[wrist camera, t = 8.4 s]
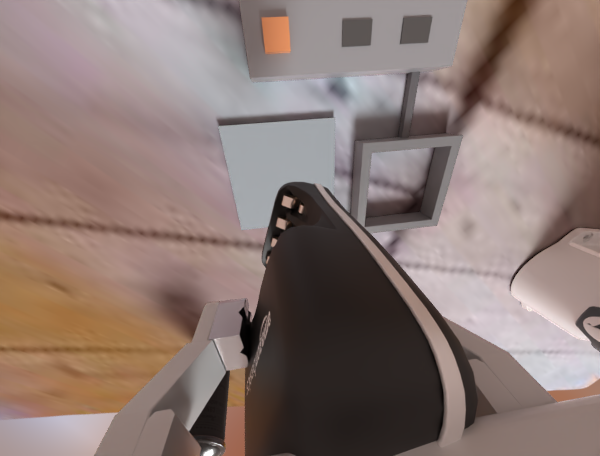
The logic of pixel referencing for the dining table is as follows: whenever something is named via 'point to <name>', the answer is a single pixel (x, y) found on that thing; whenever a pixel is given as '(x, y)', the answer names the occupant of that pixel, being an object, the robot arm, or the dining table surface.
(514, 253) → the dining table surface
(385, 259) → the battery charger
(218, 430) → the drinking cup
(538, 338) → the dining table surface
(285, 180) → the slate mat
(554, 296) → the robot arm
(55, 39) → the dining table surface
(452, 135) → the charging station
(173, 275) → the dining table surface
